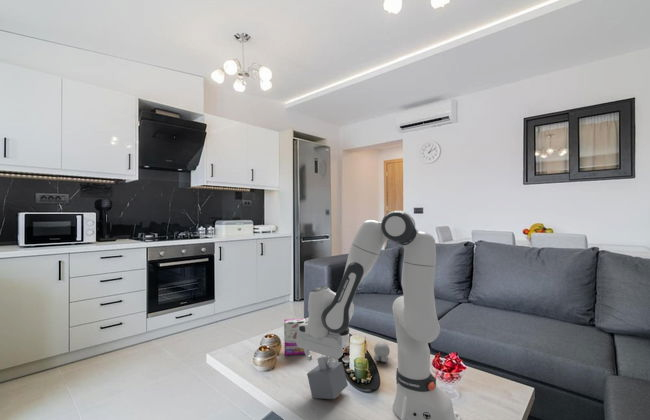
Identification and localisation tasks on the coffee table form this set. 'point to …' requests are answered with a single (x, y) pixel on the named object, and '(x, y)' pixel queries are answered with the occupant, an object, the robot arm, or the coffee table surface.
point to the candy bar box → (292, 337)
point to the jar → (345, 337)
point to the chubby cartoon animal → (381, 351)
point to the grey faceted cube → (327, 379)
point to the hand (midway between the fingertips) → (319, 363)
